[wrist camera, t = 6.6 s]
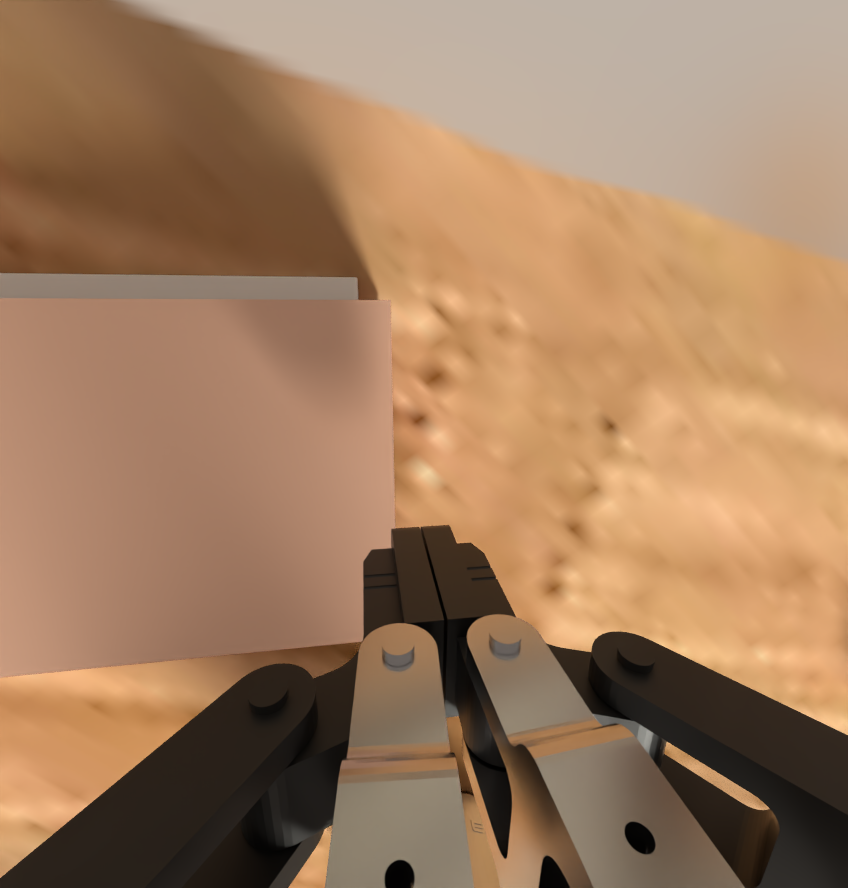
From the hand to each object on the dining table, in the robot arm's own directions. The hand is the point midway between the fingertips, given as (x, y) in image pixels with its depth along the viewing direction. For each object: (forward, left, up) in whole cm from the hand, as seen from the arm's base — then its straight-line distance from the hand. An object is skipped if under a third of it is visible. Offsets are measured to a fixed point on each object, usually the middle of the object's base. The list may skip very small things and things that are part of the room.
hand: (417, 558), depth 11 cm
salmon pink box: (0, 0, -7) cm, 7 cm away
